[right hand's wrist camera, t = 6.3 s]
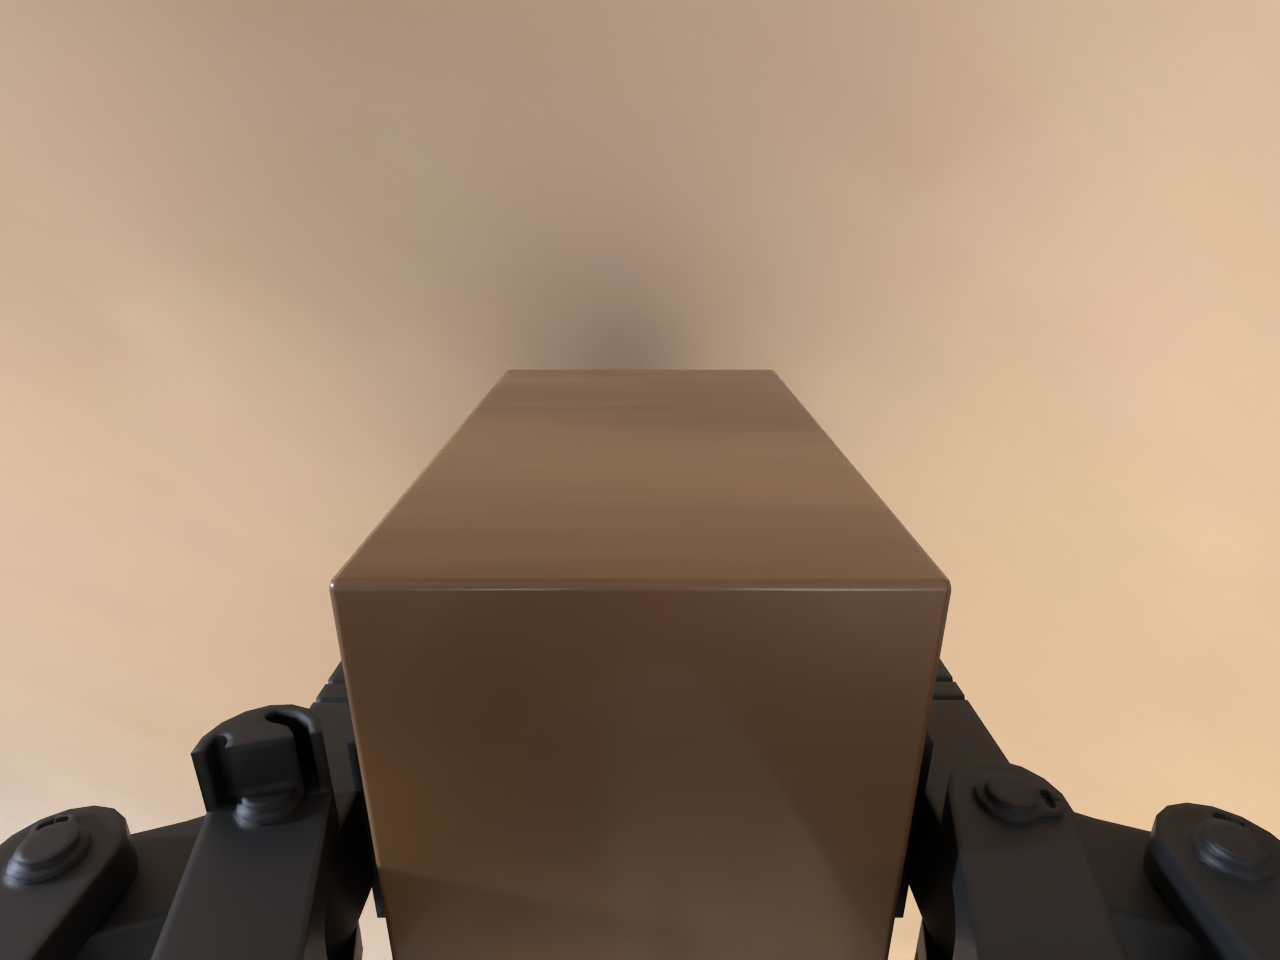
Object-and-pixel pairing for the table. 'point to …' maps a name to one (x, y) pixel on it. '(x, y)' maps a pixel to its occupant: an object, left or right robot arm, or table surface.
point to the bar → (640, 679)
